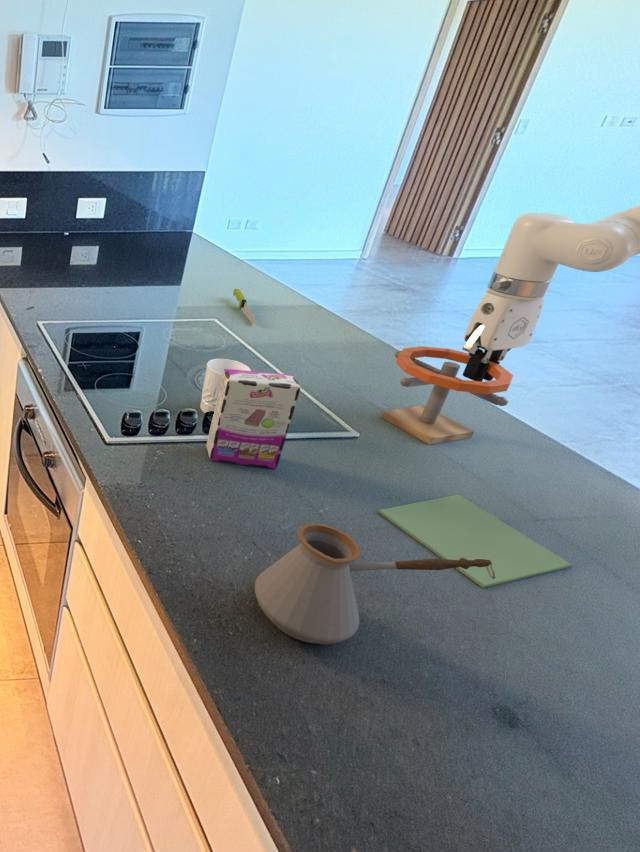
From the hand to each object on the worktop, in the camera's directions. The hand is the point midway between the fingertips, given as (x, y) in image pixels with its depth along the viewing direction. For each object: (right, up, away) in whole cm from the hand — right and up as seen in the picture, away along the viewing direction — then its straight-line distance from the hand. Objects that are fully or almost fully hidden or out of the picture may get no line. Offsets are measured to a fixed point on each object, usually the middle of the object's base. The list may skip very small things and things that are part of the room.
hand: (476, 377), depth 116 cm
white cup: (-45, -7, +9) cm, 46 cm away
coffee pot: (-52, -31, -39) cm, 72 cm away
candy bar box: (-48, -14, -6) cm, 51 cm away
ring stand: (-10, -10, +3) cm, 14 cm away
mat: (-23, -23, -24) cm, 41 cm away
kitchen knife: (-14, +17, +57) cm, 61 cm away
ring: (-7, +2, -3) cm, 8 cm away
